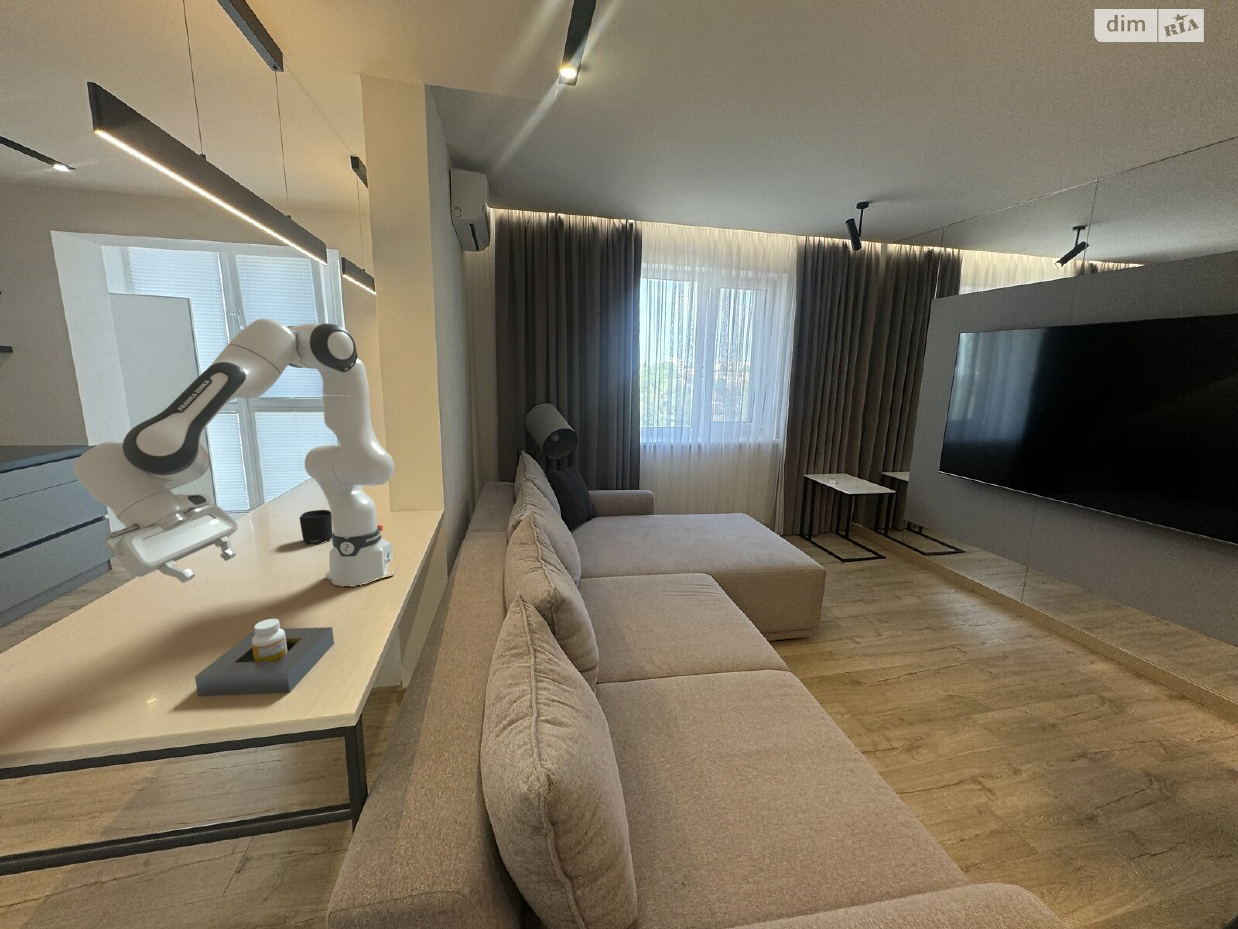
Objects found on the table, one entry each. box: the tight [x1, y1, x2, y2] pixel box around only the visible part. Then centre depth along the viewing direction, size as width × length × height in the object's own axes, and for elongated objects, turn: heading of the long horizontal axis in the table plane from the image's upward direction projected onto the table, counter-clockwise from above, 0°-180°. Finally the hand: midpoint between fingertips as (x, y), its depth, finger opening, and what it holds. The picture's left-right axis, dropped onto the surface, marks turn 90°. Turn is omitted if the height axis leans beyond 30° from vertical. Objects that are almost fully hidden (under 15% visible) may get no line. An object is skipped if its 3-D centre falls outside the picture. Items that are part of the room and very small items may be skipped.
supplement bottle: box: [252, 618, 287, 662], centre depth 92 cm, size 5×5×10 cm
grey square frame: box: [194, 626, 335, 697], centre depth 93 cm, size 16×16×4 cm
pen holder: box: [299, 509, 333, 545], centre depth 162 cm, size 9×9×10 cm
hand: (211, 568), depth 92 cm, fingers open, 8 cm apart
